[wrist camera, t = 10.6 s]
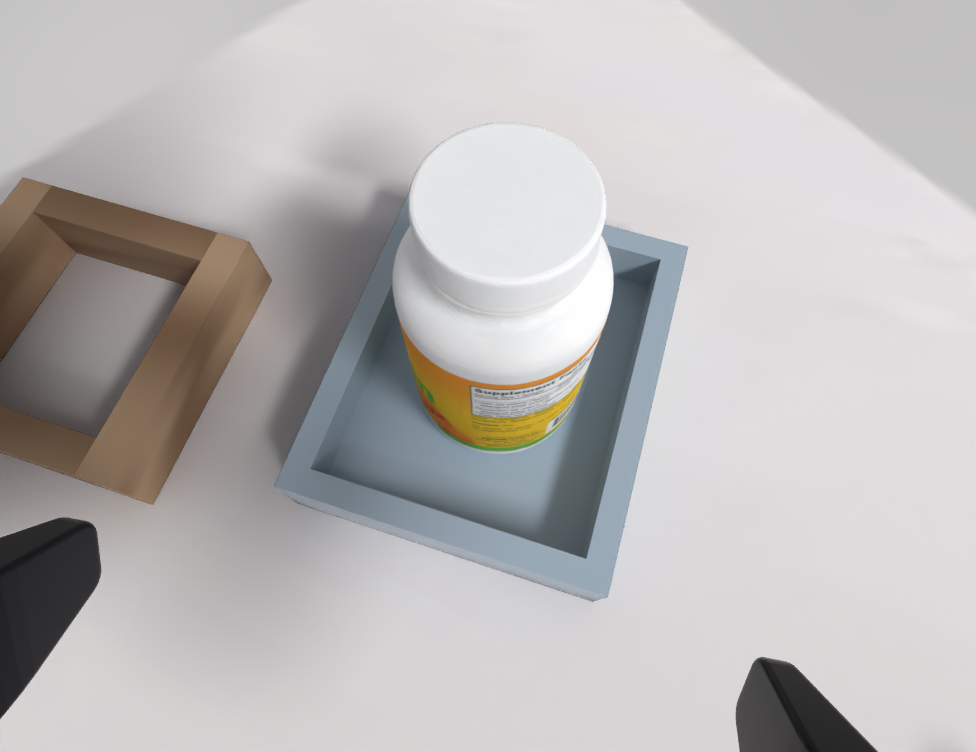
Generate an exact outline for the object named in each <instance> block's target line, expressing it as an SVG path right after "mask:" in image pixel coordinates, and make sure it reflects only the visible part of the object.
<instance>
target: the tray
mask: <svg viewBox="0 0 976 752" xmlns="http://www.w3.org/2000/svg"><path fill="white" fill-rule="evenodd" d="M408 199H409V193H408V196H407V198H406V200H405V202H404V204H403V206H402V209H401V211H400V213H399V215H398V217H397V220H396V222H395V224H394V226H393V228H392V230H391V233H390V235H389V237H388V239H387V241H386V243H385V246H384V248H383V250H382V252H381V254H380V257H379V259H378V261H377V263H376V265H375V267H374V270H373V272H372V274H371V276H370V278H369V280H368V283H367V285H366V287H365V289H364V291H363V293H362V296H361V298H360V300H359V302H358V304H357V307H356V309H355V311H354V313H353V315H352V317H351V320H350V322H349V324H348V326H347V328H346V330H345V333H344V335H343V337H342V339H341V341H340V344H339V346H338V348H337V350H336V352H335V354H334V357H333V359H332V361H331V363H330V365H329V367H328V370H327V372H326V374H325V376H324V378H323V380H322V383H321V385H320V387H319V389H318V391H317V394H316V396H315V398H314V400H313V402H312V404H311V407H310V409H309V411H308V413H307V415H306V417H305V420H304V422H303V424H302V426H301V428H300V431H299V433H298V435H297V437H296V439H295V441H294V444H293V446H292V448H291V450H290V452H289V454H288V457H287V459H286V461H285V463H284V465H283V468H282V470H281V472H280V474H279V476H278V478H277V481H276V483H275V485H274V487H276V488H277V489H278V490H280V491H281V492H283V493H284V494H286V495H287V496H288V497H290V498H291V499H293V500H294V501H295V502H297V503H299V504H302V505H305V506H308V507H311V508H314V509H317V510H320V511H323V512H326V513H329V514H332V515H335V516H338V517H341V518H344V519H347V520H350V521H353V522H356V523H359V524H362V525H365V526H368V527H371V528H374V529H377V530H380V531H383V532H386V533H389V534H392V535H394V536H397V537H400V538H403V539H406V540H409V541H412V542H415V543H418V544H421V545H424V546H427V547H430V548H433V549H436V550H439V551H442V552H445V553H448V554H451V555H454V556H457V557H460V558H463V559H466V560H469V561H472V562H475V563H478V564H481V565H484V566H487V567H490V568H493V569H496V570H499V571H502V572H505V573H508V574H511V575H514V576H517V577H520V578H523V579H526V580H529V581H532V582H535V583H538V584H541V585H544V586H547V587H550V588H553V589H556V590H559V591H562V592H565V593H568V594H571V595H574V596H577V597H580V598H583V599H586V600H589V601H592V602H593V601H597V600H600V599H603V598H606V597H608V594H609V589H610V585H611V581H612V576H613V572H614V568H615V563H616V559H617V555H618V550H619V546H620V542H621V537H622V533H623V528H624V524H625V520H626V515H627V511H628V507H629V502H630V498H631V494H632V489H633V485H634V481H635V476H636V472H637V468H638V463H639V459H640V455H641V450H642V446H643V441H644V437H645V433H646V428H647V424H648V420H649V415H650V411H651V407H652V402H653V398H654V394H655V389H656V385H657V381H658V376H659V372H660V368H661V363H662V359H663V354H664V350H665V346H666V341H667V337H668V333H669V328H670V324H671V320H672V315H673V311H674V307H675V302H676V298H677V294H678V289H679V285H680V281H681V276H682V272H683V268H684V263H685V259H686V254H687V250H688V247H687V246H684V245H680V244H676V243H672V242H668V241H665V240H661V239H657V238H653V237H649V236H646V235H642V234H638V233H634V232H630V231H627V230H623V229H619V228H615V227H611V226H608V225H604V227H603V230H602V234H601V235H602V237H603V239H604V241H605V243H606V245H607V248H608V251H609V254H610V257H611V261H612V267H613V282H614V283H613V296H612V301H611V306H610V310H609V313H608V316H607V320H606V323H605V326H604V328H603V330H602V333H601V335H600V338H599V341H598V343H597V345H596V348H595V351H594V353H593V356H592V359H591V361H590V364H589V366H588V369H587V372H586V374H585V377H584V380H583V383H582V385H581V388H580V391H579V393H578V395H577V398H576V400H575V403H574V405H573V407H572V409H571V411H570V413H569V415H568V416H567V418H566V419H565V421H564V422H563V424H562V425H561V426H560V427H559V428H558V429H557V430H556V431H555V432H554V433H553V434H552V435H551V436H549V437H548V438H547V439H545V440H544V441H542V442H541V443H539V444H537V445H535V446H533V447H531V448H529V449H526V450H523V451H520V452H515V453H508V454H489V453H482V452H478V451H474V450H471V449H468V448H465V447H463V446H461V445H459V444H457V443H455V442H454V441H452V440H451V439H449V438H448V437H447V436H445V435H444V434H443V433H442V432H441V431H440V430H439V429H438V428H437V427H436V426H435V424H434V423H433V422H432V420H431V419H430V417H429V416H428V414H427V412H426V410H425V408H424V406H423V403H422V401H421V398H420V395H419V391H418V388H417V384H416V380H415V377H414V374H413V370H412V366H411V363H410V360H409V356H408V353H407V348H406V344H405V340H404V337H403V333H402V329H401V326H400V322H399V318H398V314H397V311H396V307H395V302H394V296H393V286H392V275H393V267H394V261H395V257H396V253H397V250H398V247H399V245H400V242H401V240H402V238H403V237H404V235H405V233H406V231H407V230H408V228H409V226H410V221H409V211H408Z"/></svg>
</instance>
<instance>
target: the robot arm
mask: <svg viewBox="0 0 976 752" xmlns="http://www.w3.org/2000/svg"><path fill="white" fill-rule="evenodd" d="M100 576H101V562H100V554H99V545H98V537H97V531H96V528H95V527H94V525H93V524H92V523H90V522H87V521H82V520H77V519H72V518H64V517H63V518H57V519H54V520H51V521H48V522H45V523H42V524H40V525H37V526H34V527H31V528H28V529H25V530H22V531H19V532H16V533H13V534H10V535H7V536H4V537H1V538H0V719H1V718H2V716H3V715H4V714H5V713H6V712H7V710H8V709H9V708H10V707H11V705H12V704H13V703H14V702H15V700H16V699H17V698H18V697H19V695H20V694H21V693H22V692H23V690H24V689H25V688H26V686H27V685H28V684H29V682H30V681H31V680H32V678H33V677H34V676H35V674H36V673H37V671H38V670H39V669H40V667H41V666H42V664H43V663H44V661H45V660H46V658H47V657H48V656H49V654H50V653H51V651H52V650H53V648H54V647H55V646H56V644H57V643H58V641H59V640H60V638H61V637H62V636H63V634H64V633H65V631H66V630H67V628H68V627H69V626H70V624H71V623H72V621H73V620H74V618H75V617H76V616H77V614H78V613H79V611H80V610H81V608H82V607H83V606H84V604H85V603H86V601H87V600H88V598H89V597H90V596H91V594H92V593H93V591H94V590H95V588H96V586H97V584H98V582H99V579H100ZM736 726H737V734H738V742H739V749H740V752H878V751H877V750H876V749H875V748H874V747H873V746H872V745H871V744H870V743H869V742H868V741H867V740H866V739H865V738H864V737H863V736H862V735H861V734H860V733H859V732H858V731H857V730H856V729H855V728H854V727H853V726H852V725H851V724H850V722H849V721H848V720H847V719H846V718H845V717H844V716H843V715H842V714H841V713H840V712H839V711H838V710H837V709H836V708H835V707H834V706H833V705H832V704H831V703H830V702H829V701H828V700H827V699H826V698H825V697H824V696H823V695H822V694H821V693H820V692H819V691H818V690H817V688H816V687H815V686H814V685H813V684H812V683H811V682H810V681H809V680H808V679H807V678H806V677H805V676H804V675H803V674H802V673H801V672H800V671H799V670H798V669H797V668H796V667H795V666H794V665H792V664H791V663H788V662H786V661H781V660H776V659H771V658H766V657H760V658H757V659H756V660H755V661H754V663H753V664H752V667H751V669H750V672H749V674H748V676H747V679H746V681H745V684H744V686H743V689H742V691H741V694H740V696H739V699H738V702H737V706H736Z"/></svg>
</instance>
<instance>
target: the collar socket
mask: <svg viewBox="0 0 976 752" xmlns="http://www.w3.org/2000/svg"><path fill="white" fill-rule="evenodd" d="M76 252H77V253H80V254H83V255H87V256H90V257H93V258H97V259H100V260H103V261H107V262H110V263H114V264H117V265H120V266H124V267H127V268H130V269H134V270H137V271H141V272H144V273H147V274H151V275H154V276H157V277H161V278H164V279H167V280H171V281H174V282H178V283H181V284H184V285H187V286H186V287H185V289H184V291H183V292H182V294H181V296H180V297H179V299H178V301H177V302H176V304H175V306H174V307H173V309H172V311H171V313H170V314H169V316H168V318H167V319H166V321H165V323H164V324H163V326H162V328H161V329H160V331H159V333H158V335H157V336H156V338H155V340H154V341H153V343H152V345H151V346H150V348H149V350H148V351H147V353H146V355H145V357H144V358H143V360H142V362H141V363H140V365H139V367H138V368H137V370H136V372H135V373H134V375H133V377H132V378H131V380H130V382H129V384H128V385H127V387H126V389H125V390H124V392H123V394H122V395H121V397H120V399H119V400H118V402H117V404H116V406H115V407H114V409H113V411H112V412H111V414H110V416H109V417H108V419H107V421H106V422H105V424H104V426H103V428H102V429H101V431H100V433H99V434H98V436H97V438H94V437H91V436H88V435H85V434H82V433H80V432H77V431H74V430H71V429H68V428H65V427H62V426H59V425H56V424H53V423H50V422H47V421H44V420H41V419H38V418H35V417H32V416H29V415H26V414H23V413H20V412H17V411H14V410H11V409H8V408H5V407H2V406H0V452H1V453H4V454H7V455H10V456H12V457H15V458H18V459H21V460H24V461H27V462H30V463H33V464H36V465H39V466H42V467H44V468H47V469H50V470H53V471H56V472H59V473H62V474H65V475H68V476H71V477H74V478H76V479H79V480H82V481H85V482H88V483H91V484H94V485H97V486H100V487H103V488H106V489H108V490H111V491H114V492H117V493H120V494H123V495H126V496H129V497H132V498H135V499H137V500H140V501H143V502H146V503H149V504H152V505H153V503H154V501H155V500H156V498H157V496H158V494H159V492H160V490H161V488H162V486H163V485H164V483H165V481H166V479H167V477H168V475H169V473H170V471H171V469H172V468H173V466H174V464H175V462H176V460H177V458H178V456H179V454H180V453H181V451H182V449H183V447H184V445H185V443H186V441H187V439H188V437H189V436H190V434H191V432H192V430H193V428H194V426H195V424H196V422H197V420H198V419H199V417H200V415H201V413H202V411H203V409H204V407H205V405H206V404H207V402H208V400H209V398H210V396H211V394H212V392H213V390H214V388H215V387H216V385H217V383H218V381H219V379H220V377H221V375H222V373H223V372H224V370H225V368H226V366H227V364H228V362H229V360H230V358H231V356H232V355H233V353H234V351H235V349H236V347H237V345H238V343H239V341H240V339H241V338H242V336H243V334H244V332H245V330H246V328H247V326H248V324H249V323H250V321H251V319H252V317H253V315H254V313H255V311H256V309H257V307H258V306H259V304H260V302H261V300H262V298H263V296H264V294H265V292H266V291H267V289H268V287H269V285H270V283H271V281H272V279H271V278H270V276H269V274H268V273H267V271H266V269H265V268H264V266H263V264H262V263H261V261H260V259H259V258H258V256H257V254H256V253H255V251H254V249H253V248H252V246H251V244H250V243H249V242H248V241H245V240H241V239H238V238H234V237H231V236H227V235H224V234H220V233H217V232H213V231H209V230H206V229H202V228H199V227H195V226H192V225H188V224H185V223H181V222H178V221H174V220H171V219H167V218H164V217H160V216H157V215H153V214H150V213H146V212H143V211H139V210H136V209H132V208H129V207H125V206H122V205H118V204H115V203H111V202H108V201H104V200H101V199H97V198H94V197H90V196H87V195H83V194H80V193H76V192H73V191H69V190H65V189H62V188H58V187H55V186H51V185H48V184H44V183H41V182H37V181H34V180H30V179H27V178H22V179H21V180H20V182H19V183H18V184H17V186H16V187H15V188H14V189H13V191H12V192H11V193H10V195H9V196H8V197H7V199H6V200H5V201H4V202H3V204H2V205H1V206H0V361H1V360H2V359H3V357H4V356H5V354H6V353H7V351H8V350H9V348H10V347H11V345H12V344H13V343H14V341H15V340H16V338H17V337H18V335H19V334H20V332H21V331H22V330H23V328H24V327H25V325H26V324H27V322H28V321H29V319H30V318H31V316H32V315H33V314H34V312H35V311H36V309H37V308H38V306H39V305H40V303H41V302H42V301H43V299H44V298H45V296H46V295H47V293H48V292H49V290H50V289H51V287H52V286H53V285H54V283H55V282H56V280H57V279H58V277H59V276H60V274H61V273H62V272H63V270H64V269H65V267H66V266H67V264H68V263H69V261H70V260H71V258H72V257H73V256H74V254H75V253H76Z"/></svg>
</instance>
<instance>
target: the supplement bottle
mask: <svg viewBox="0 0 976 752" xmlns="http://www.w3.org/2000/svg"><path fill="white" fill-rule="evenodd" d="M606 209H607V208H606V195H605V190H604V186H603V183H602V179H601V177H600V175H599V173H598V171H597V169H596V168H595V166H594V164H593V163H592V162H591V160H590V159H589V158H588V157H587V156H586V155H585V154H584V152H583V151H582V150H581V149H579V148H578V147H577V146H575V145H574V144H573V143H572V142H570V141H569V140H567V139H566V138H564V137H562V136H560V135H558V134H556V133H554V132H552V131H550V130H547V129H544V128H541V127H537V126H533V125H529V124H523V123H510V122H502V123H489V124H484V125H479V126H475V127H472V128H469V129H465V130H463V131H461V132H458V133H456V134H454V135H452V136H451V137H449V138H448V139H446V140H445V141H443V142H441V143H440V144H439V145H438V146H436V147H435V148H434V149H433V150H432V151H431V152H430V153H429V154H428V155H427V156H426V157H425V159H424V160H423V161H422V163H421V164H420V166H419V168H418V169H417V171H416V173H415V175H414V177H413V180H412V183H411V187H410V191H409V199H408V211H409V221H410V226H409V228H408V230H407V231H406V233H405V235H404V237H403V238H402V240H401V242H400V245H399V247H398V250H397V253H396V257H395V261H394V267H393V275H392V286H393V296H394V302H395V307H396V311H397V314H398V318H399V322H400V326H401V329H402V333H403V337H404V340H405V344H406V348H407V353H408V356H409V360H410V363H411V366H412V370H413V374H414V377H415V380H416V384H417V388H418V391H419V395H420V398H421V401H422V403H423V406H424V408H425V410H426V412H427V414H428V416H429V417H430V419H431V420H432V422H433V423H434V424H435V426H436V427H437V428H438V429H439V430H440V431H441V432H442V433H443V434H444V435H445V436H447V437H448V438H449V439H451V440H452V441H454V442H455V443H457V444H459V445H461V446H463V447H465V448H468V449H471V450H474V451H478V452H482V453H489V454H508V453H515V452H520V451H523V450H526V449H529V448H531V447H533V446H535V445H537V444H539V443H541V442H542V441H544V440H545V439H547V438H548V437H549V436H551V435H552V434H553V433H554V432H555V431H556V430H557V429H558V428H559V427H560V426H561V425H562V424H563V422H564V421H565V419H566V418H567V416H568V415H569V413H570V411H571V409H572V407H573V405H574V403H575V400H576V398H577V395H578V393H579V391H580V388H581V385H582V383H583V380H584V377H585V374H586V372H587V369H588V366H589V364H590V361H591V359H592V356H593V353H594V351H595V348H596V345H597V343H598V341H599V338H600V335H601V333H602V330H603V328H604V326H605V323H606V320H607V316H608V313H609V310H610V306H611V301H612V296H613V283H614V282H613V267H612V261H611V257H610V254H609V251H608V248H607V245H606V243H605V241H604V239H603V237H602V235H601V234H602V230H603V227H604V223H605V218H606Z"/></svg>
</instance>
